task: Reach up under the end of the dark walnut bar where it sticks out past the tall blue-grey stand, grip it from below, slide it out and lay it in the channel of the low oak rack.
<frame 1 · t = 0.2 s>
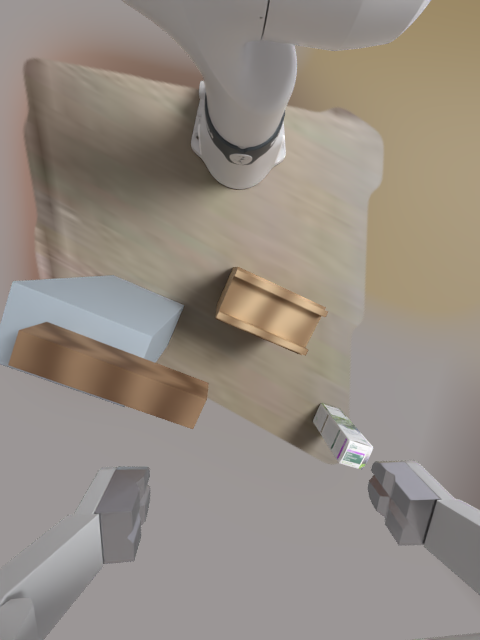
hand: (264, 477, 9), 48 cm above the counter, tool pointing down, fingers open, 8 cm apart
walnut bar: (126, 368, 30), point 26 cm above the counter, touching stand
stand: (141, 311, 54), on the counter
syrup box: (325, 414, 63), on the counter
rack: (257, 300, 56), on the counter
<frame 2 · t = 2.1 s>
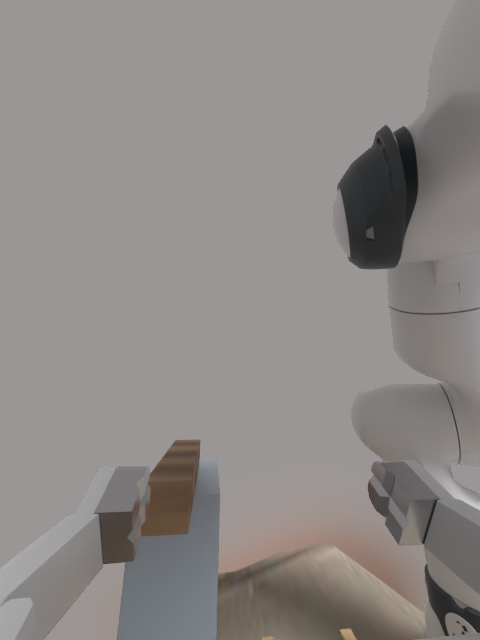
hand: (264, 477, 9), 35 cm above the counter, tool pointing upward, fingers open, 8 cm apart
walnut bar: (178, 490, 30), point 26 cm above the counter, touching stand
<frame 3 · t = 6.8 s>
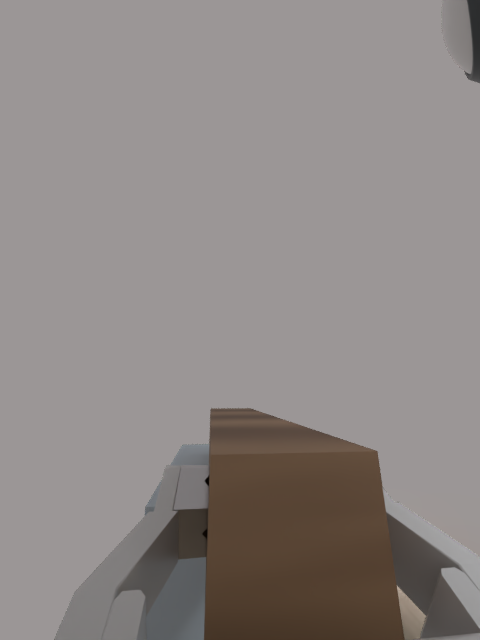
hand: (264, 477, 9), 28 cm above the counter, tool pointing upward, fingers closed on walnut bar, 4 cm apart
walnut bar: (243, 491, 14), point 26 cm above the counter, touching gripper, stand
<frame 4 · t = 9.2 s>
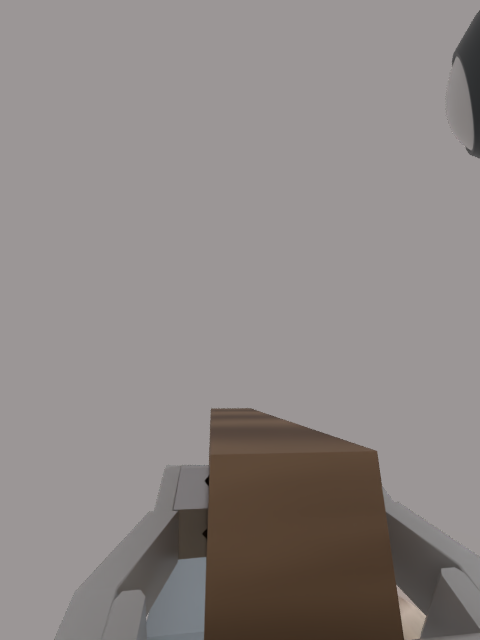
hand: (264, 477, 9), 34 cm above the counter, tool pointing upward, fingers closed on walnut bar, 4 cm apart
walnut bar: (243, 491, 14), point 32 cm above the counter, touching gripper
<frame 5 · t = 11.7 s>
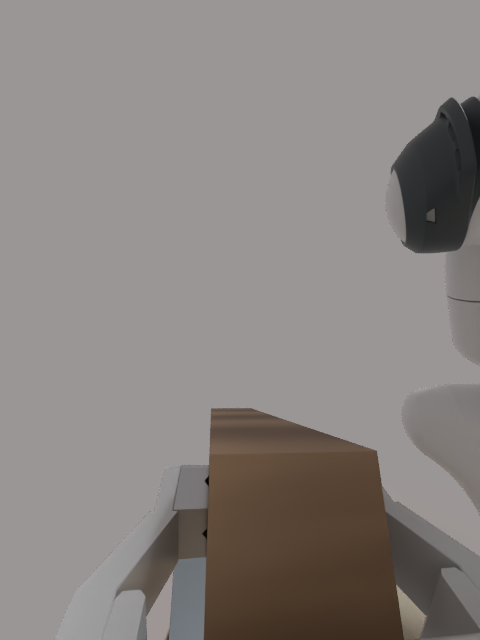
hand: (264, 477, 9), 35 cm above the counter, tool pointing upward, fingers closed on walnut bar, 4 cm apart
walnut bar: (243, 491, 14), point 32 cm above the counter, touching gripper
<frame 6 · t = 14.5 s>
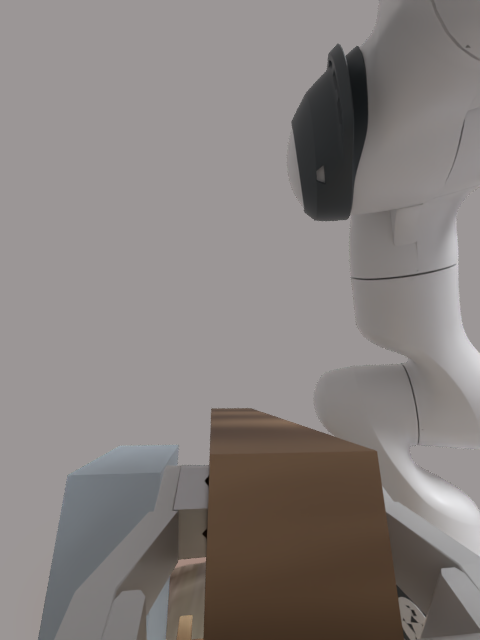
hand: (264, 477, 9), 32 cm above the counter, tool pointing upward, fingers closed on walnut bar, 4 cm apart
walnut bar: (243, 491, 14), point 29 cm above the counter, touching gripper
when the fingers open (19 cm above the counter, at t = 17.0 s): walnut bar stays where it is, resting on rack.
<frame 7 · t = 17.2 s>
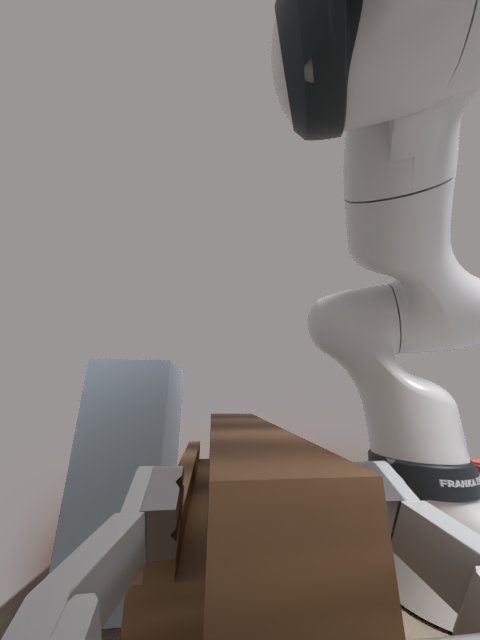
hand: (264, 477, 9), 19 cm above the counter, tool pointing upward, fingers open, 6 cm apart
walnut bar: (243, 502, 14), point 16 cm above the counter, touching rack
stand: (121, 572, 31), on the counter
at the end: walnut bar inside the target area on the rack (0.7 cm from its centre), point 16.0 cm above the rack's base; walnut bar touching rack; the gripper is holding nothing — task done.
